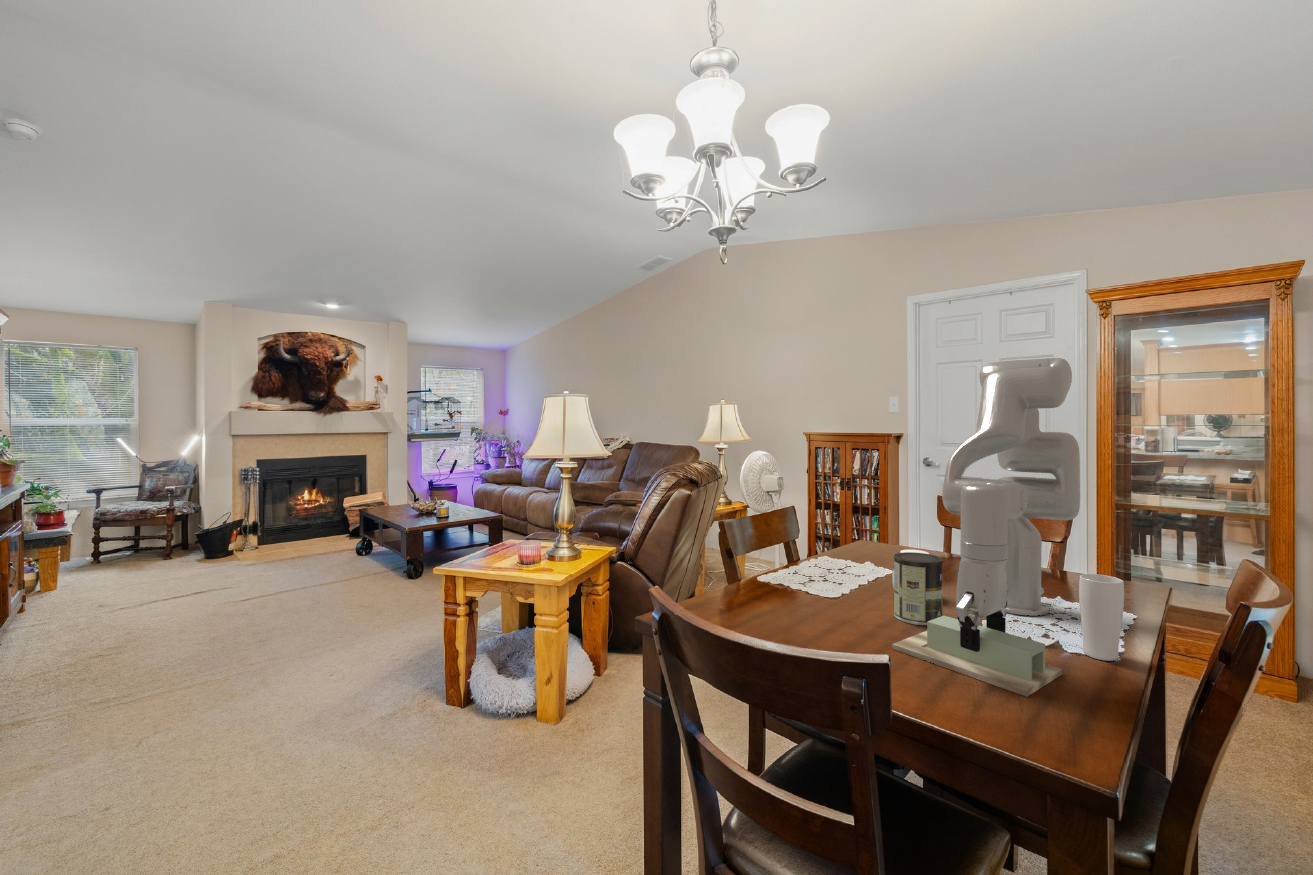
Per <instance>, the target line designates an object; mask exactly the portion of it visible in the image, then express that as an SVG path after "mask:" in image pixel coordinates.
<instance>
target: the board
mask: <svg viewBox="0 0 1313 875" xmlns="http://www.w3.org/2000/svg"><path fill="white" fill-rule="evenodd" d="M891 649H892V650H893V649H894V650H893V651H897V652H899V653H902V654H906V655H909V656H911V657H913V658H916V659H919V660H923V661H924V660H926V661H925V662H928V663H930V662H931V663H930V664H933V663H934V664H933V665H935V666H936V665H937V666H939V667H942V668H945V669H948V670H949V671H950V670H951V671H953V672H955V673H959V674H961V675H964V676H966V677H970V678H973V679H976V680H979V681H981V682H983V683H987V684H989V685H993V686H995V687H998V688H1001V689H1004V690H1007V691H1009V692H1013V693H1014V694H1018V695H1020V696H1024V697H1029V696H1030V695H1032V694H1034V693H1035V692H1037V691H1038V690H1040V689H1041V688H1043V687H1044V686H1046V685H1048V684H1049V683H1051V682H1053V681H1054V680H1055V679H1058V678H1059V677H1060V676H1062V675H1063V669H1062V668H1060V667H1057V666H1053V665H1050V664H1046V663H1045V673H1040V672H1037V671H1034V670H1032V680H1031V681H1028V680H1025V679H1022V678H1019V677H1016V676H1013V675H1010V674H1007V673H1004V672H1001V671H998V670H995V669H992V668H989V667H986V666H983V665H980V664H977V663H974V662H971V661H968V660H965V659H962V658H959V657H956V656H953V655H950V654H947V653H944V652H941V651H938V650H935V649H932V648H929V647H927V630H925V631H923V632H920V633H917V634H914V635H912V636H910V637H907V638H904V639H902V640H899V641H896V642H893V643H892V644H891Z"/></svg>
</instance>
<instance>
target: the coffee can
mask: <svg viewBox="0 0 1313 875" xmlns="http://www.w3.org/2000/svg"><path fill="white" fill-rule="evenodd" d="M893 559H894V560H893V561H894V563H893V566H894V588H893V591H894V593H893V594H894V600H893V602H894V604H893V605H894V606H893V607H894V609H893V610H894V614H893V616H894V618H895V619H897V620H899V621H901V622H903V623H906V624H910V625H916V626H924V627H925V626H927V622H928V621H930V620H933V619H936V618H938V617H941V616H943V576H944V575H943V571H944V570H943V563H944V559H943V558H942V557H941V556H938V555H934V554H932V553H931V554H930V553H929V554H925V553H914V552H905V553H900V552H898V553H895V554H894V555H893Z"/></svg>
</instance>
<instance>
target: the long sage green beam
mask: <svg viewBox="0 0 1313 875" xmlns="http://www.w3.org/2000/svg"><path fill="white" fill-rule="evenodd" d="M926 628H927V629H926V631H927V647H929V648H932V649H935V650H938V651H941V652H944V653H947V654H950V655H953V656H956V657H959V658H962V659H965V660H968V661H971V662H974V663H977V664H980V665H983V666H986V667H989V668H992V669H995V670H998V671H1001V672H1004V673H1007V674H1010V675H1013V676H1016V677H1019V678H1022V679H1025V680H1028V681H1031V680H1032V670H1034V671H1037V672H1040V673H1045V664H1046V643H1043V642H1040V641H1036V640H1032V639H1029V638H1026V637H1023V636H1019V635H1014V634H1012V633H1007V632H1006V631H1005V632H1001V631H997V630H994V629H990V628H987V627H986V626H982V625H978V628H977V629H979V630H980V651H978V652H975V651H972V650H969V649H966V648H962V647H961V646H960V626H959V621H958V618H954V617H950V616H946V615H942V616H941V617H938V618H936V619H933V620H930V621H928V622H927V627H926Z"/></svg>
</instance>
